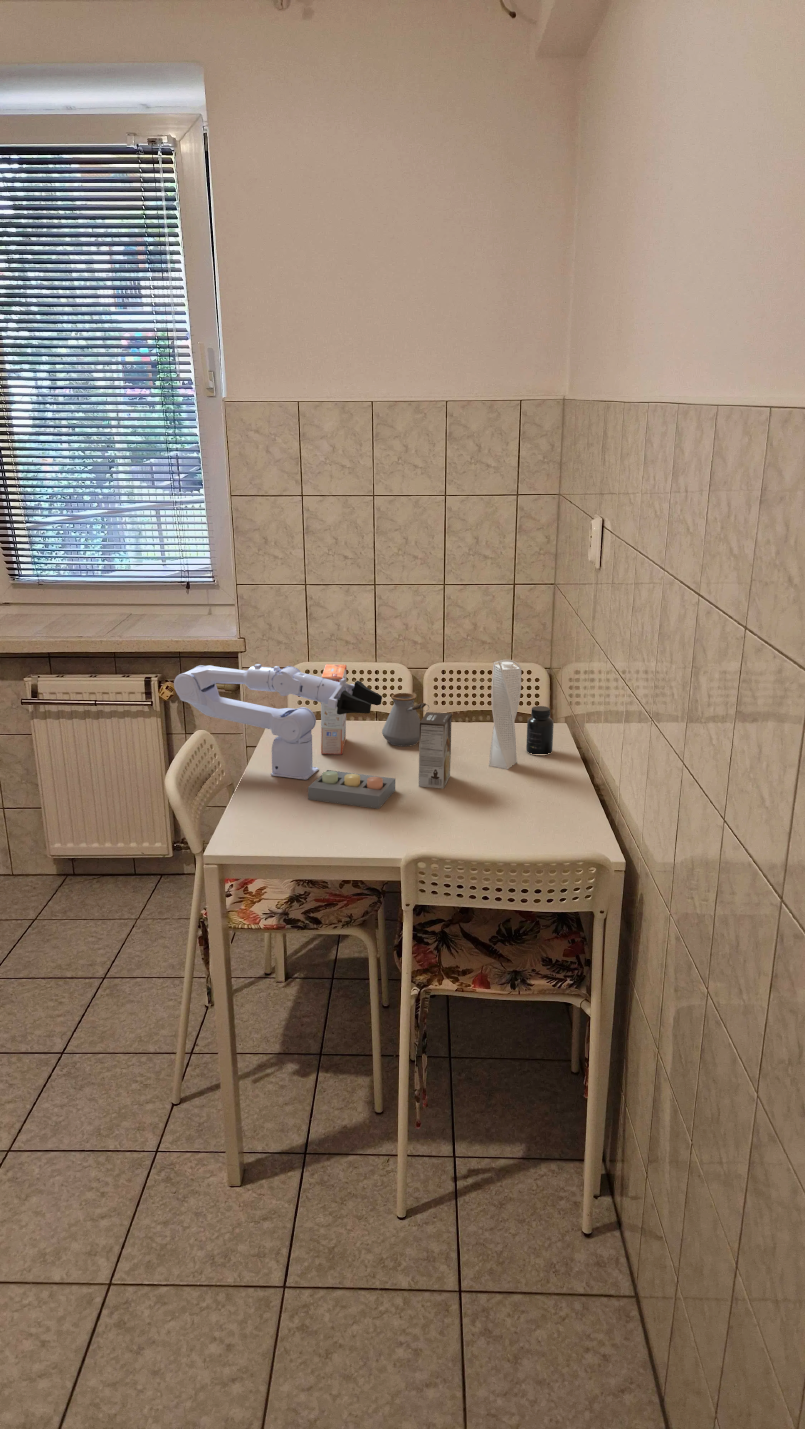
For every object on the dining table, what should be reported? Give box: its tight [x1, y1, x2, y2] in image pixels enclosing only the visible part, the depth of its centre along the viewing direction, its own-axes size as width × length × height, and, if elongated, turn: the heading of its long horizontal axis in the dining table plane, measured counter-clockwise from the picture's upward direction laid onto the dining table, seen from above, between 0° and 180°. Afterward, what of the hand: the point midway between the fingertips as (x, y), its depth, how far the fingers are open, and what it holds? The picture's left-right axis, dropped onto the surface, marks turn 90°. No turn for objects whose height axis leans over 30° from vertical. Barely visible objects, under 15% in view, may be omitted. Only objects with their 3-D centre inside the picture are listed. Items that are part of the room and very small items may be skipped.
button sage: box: [321, 770, 338, 784], centre depth 231 cm, size 4×4×3 cm
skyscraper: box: [488, 658, 522, 770], centre depth 248 cm, size 8×8×28 cm
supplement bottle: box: [525, 705, 555, 754], centre depth 260 cm, size 7×7×12 cm
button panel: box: [307, 769, 396, 810], centre depth 230 cm, size 17×12×3 cm
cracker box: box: [320, 663, 347, 756], centre depth 261 cm, size 14×6×21 cm, turn 179°
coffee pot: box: [381, 692, 430, 747], centre depth 262 cm, size 21×12×15 cm, turn 20°
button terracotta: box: [367, 776, 383, 790], centre depth 228 cm, size 4×4×3 cm
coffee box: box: [418, 711, 453, 789], centre depth 238 cm, size 9×6×16 cm
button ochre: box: [344, 773, 360, 787], centre depth 230 cm, size 4×4×3 cm
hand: (375, 704), depth 232 cm, fingers open, 7 cm apart
